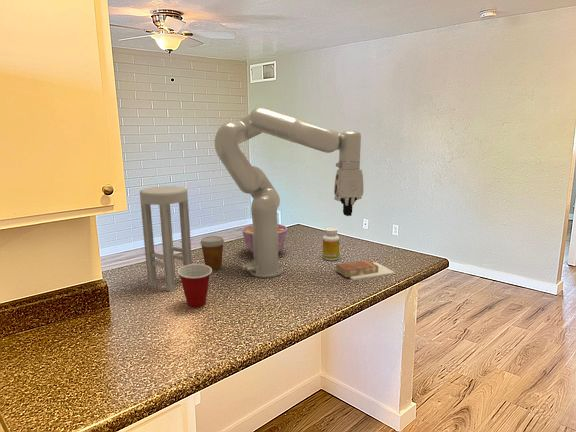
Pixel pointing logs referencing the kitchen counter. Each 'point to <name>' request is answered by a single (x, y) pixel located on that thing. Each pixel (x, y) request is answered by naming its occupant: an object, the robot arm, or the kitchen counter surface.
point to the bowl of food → (248, 236)
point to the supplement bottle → (330, 244)
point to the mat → (381, 272)
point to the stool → (165, 231)
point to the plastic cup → (195, 283)
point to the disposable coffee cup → (212, 251)
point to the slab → (356, 268)
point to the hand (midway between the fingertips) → (347, 215)
